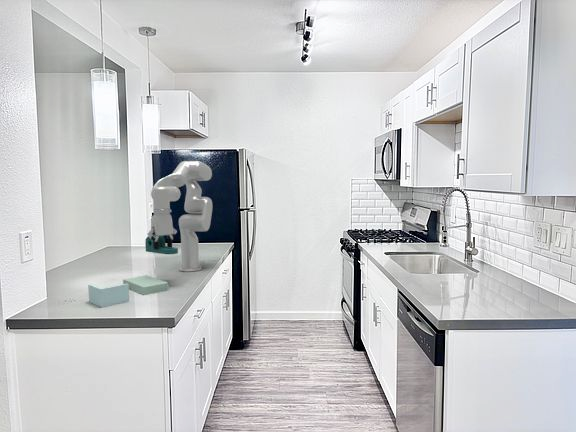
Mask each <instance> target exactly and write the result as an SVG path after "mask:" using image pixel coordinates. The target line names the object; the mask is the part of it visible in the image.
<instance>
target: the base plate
mask: <svg viewBox="0 0 576 432" xmlns="http://www.w3.org/2000/svg"><path fill="white" fill-rule="evenodd" d="M127 283H128V284H129V290H131V291H133V292H136V293H138V294H140V295H143V296H146V295H152V294H157V293H161V292H165V291H169V282H167V281H165V280H161V279H158V278H156V277H152V276H149V275H140V276H133V277H129V278H122V284H127Z"/></svg>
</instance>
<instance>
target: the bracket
mask: <svg viewBox="0 0 576 432" xmlns="http://www.w3.org/2000/svg"><path fill="white" fill-rule="evenodd" d="M157 241H158V247H159V249H158V250H155V249H154V248H153V241H152V240H151V239H150V237H149V236H148V235H147V236H146V238H145V243H144V244H145V252H148V253H153V254H162V255H177V254H179V249H178V248H179V247H173V246H172V247H167V245H166V239H165V237H164V236H159V238H158V240H157Z"/></svg>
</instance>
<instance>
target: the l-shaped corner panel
mask: <svg viewBox="0 0 576 432" xmlns="http://www.w3.org/2000/svg"><path fill="white" fill-rule="evenodd" d="M87 287H88V288H87V289H88V302H89V303H91V304H93V305H96V306H97V307H99V308H103V307H109V306H112V305H113V306H114V305H117V304H118V305H119V304H122V303H127V302H130V291H129V290H130V289H129V284H128V283H127V284H123V283H122V284H118V285H113V286H108V287H99V286H97V285H94V284H91V283H89V284H87Z"/></svg>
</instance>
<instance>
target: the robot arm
mask: <svg viewBox="0 0 576 432" xmlns="http://www.w3.org/2000/svg"><path fill="white" fill-rule="evenodd" d="M212 177H213V171H212V168H211V167H210V166H209V165H207V164H206V163H205V162H203V161H200V160H184V161H183V160H182V161H181V162H179V164H178V165H177V166H176V168H175V169H174V170H173V172H172V173H171V174H169V175H167V176H165V177H162V178H161V179H159V180H157V182H156V183H154V185H153V187H152V189H151V192H150V196H151V197H150V198H151V199H152V200H153V215H152V216H151V223H150V230H149V231H148V233H147V234H146V235H147V237H148V236H149V237H150V239H151V240H152V241H153V248H154V249H155V250H158V249H159V247H158V241H157V240H158V238H159V236H163V237H164V236H166V237H167V238H166V239H167V240H166V246H167V247H173V240H174V238H175V236H176V234H177V233H178V230H177V229H175V227H174V226H173V224H174V223H173V217H172V215H171V213H172V209H171V207H170V206H171V205H170V204H171V203H170V202H176V201H179V199H180V197H181V195H182V193H181V190H180V189H179V188H181V187H183V186H184V185H185V186H186V193H185V201H184V207H183V209H184V211H185V213H188V214H182V215H181V216H180V217H179V218H178V226H179V231H180V243H181V244H180V248H181V249H180V250H181V253H180V254H181V266H180V267H179V268H178V271H180V272H184V273H185V272H187V273H188V272H198V271H201V270H202V265H206V260H199V259H200V257H199V254H200V253H199V237H198V236H197V234H196V232H208V231H209V229H210V227H211V221H212V215H213V214H212V213H213V201H212V199H211V198H210V197H208V196H202V193H203V192H202V191H203V189H202V187H201V186H200V185H199V183H198V182H202V181H203V182H204V181H205V182H206V181H209V180H211V179H212Z"/></svg>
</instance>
